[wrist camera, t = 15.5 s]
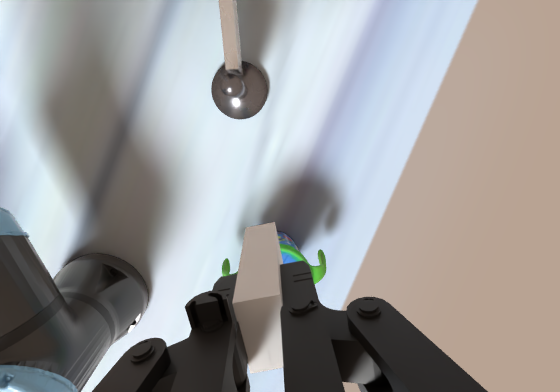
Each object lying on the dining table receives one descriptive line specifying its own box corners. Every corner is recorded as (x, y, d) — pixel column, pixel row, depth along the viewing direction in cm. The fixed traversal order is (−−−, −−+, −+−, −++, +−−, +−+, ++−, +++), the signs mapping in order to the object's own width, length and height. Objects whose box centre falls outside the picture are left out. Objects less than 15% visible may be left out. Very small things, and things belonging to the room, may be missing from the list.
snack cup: (227, 278, 55) (219, 315, 45) (226, 220, 52) (216, 246, 42) (318, 278, 56) (328, 315, 46) (321, 221, 53) (333, 247, 43)
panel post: (219, 123, 48) (203, 128, 36) (206, 67, 46) (185, 53, 34) (271, 113, 48) (273, 115, 36) (261, 56, 46) (259, 38, 34)
